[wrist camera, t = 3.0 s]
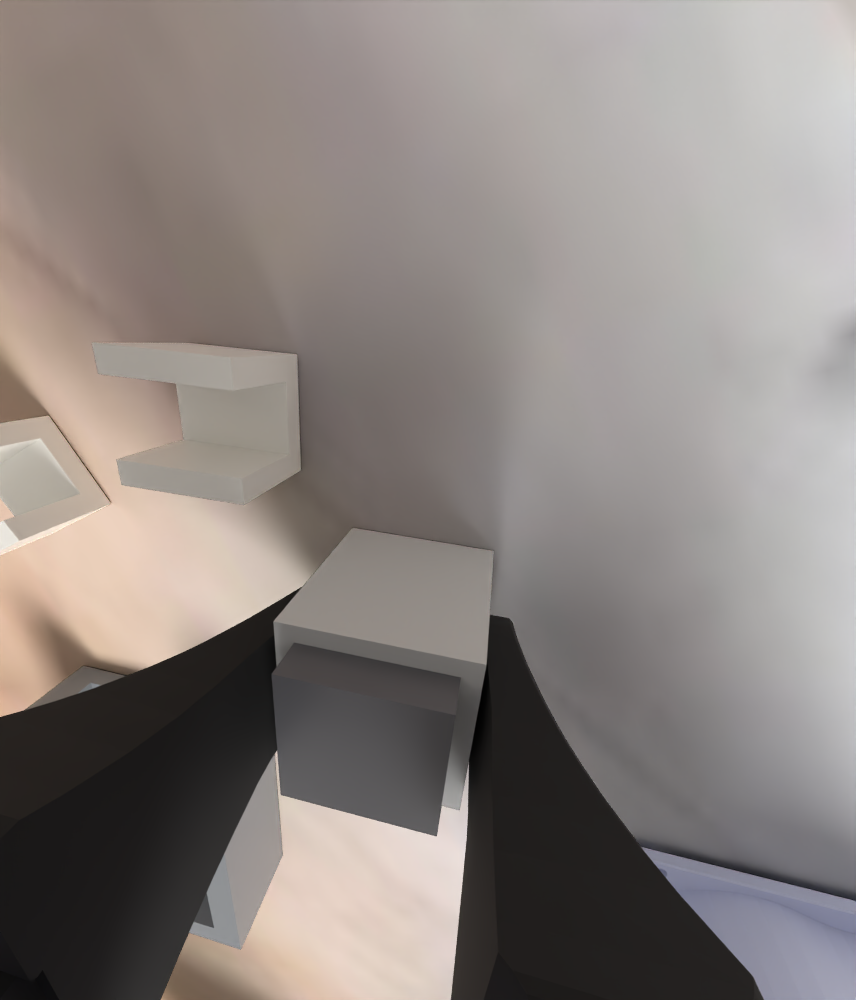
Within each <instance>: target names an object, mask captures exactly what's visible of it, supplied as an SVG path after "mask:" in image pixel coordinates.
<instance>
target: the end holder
mask: <svg viewBox="0 0 856 1000" xmlns="http://www.w3.org/2000/svg"><path fill="white" fill-rule="evenodd" d="M122 677H125V676H124V675H120V674H116V673H112V672H107V671H103V670H99V669H95V668H90V667H86V666H82V667H81V668H80V669H78V670H77V671H76V672H74V673H73V674H72V675H70V676H69V677H68V678H66V679H65V680H64V681H62V682H61V683H60V684H58V685H57V686H56V687H54V688H53V689H52V690H51V691H49V692H48V693H47V694H45V695H44V696H43V697H41V698H40V699H39V700H37V701H36V702H35V703H33V704H32V705H31V706H29V707H28V708H27V709H30V708H34V707H37V706H40V705H44V704H47V703H50V702H53V701H57V700H60V699H63V698H66V697H69V696H72V695H75V694H78V693H81V692H84V691H87V690H90V689H93V688H95V687H98V686H101V685H103V684H106V683H109V682H111V681H114V680H117V679H119V678H122ZM27 709H25V710H27ZM282 855H283V853H282V841H281V828H280V816H279V804H278V792H277V779H276V767H275V755H274V756H273V757H272V759H271V761H270V762H269V764H268V766H267V768H266V770H265V771H264V773H263V775H262V777H261V779H260V781H259V782H258V784H257V786H256V788H255V790H254V793H253V795H252V797H251V799H250V801H249V803H248V805H247V807H246V809H245V811H244V813H243V815H242V817H241V819H240V821H239V823H238V826H237V828H236V830H235V832H234V834H233V836H232V838H231V840H230V843H229V845H228V847H227V849H226V851H225V853H224V856H223V858H222V860H221V862H220V864H219V866H218V869H217V871H216V873H215V875H214V877H213V879H212V881H211V884H210V886H209V888H208V891H207V893H206V895H205V897H204V900H203V902H202V904H201V906H200V909H199V911H198V913H197V915H196V918H195V920H194V922H193V925H192V927H191V929H190V931H189V933H191V934H194V935H197V936H201V937H204V938H207V939H210V940H213V941H216V942H219V943H222V944H225V945H228V946H231V947H234V948H237V949H240V950H241V949H242V946H243V944H244V942H245V939H246V937H247V935H248V933H249V930H250V928H251V926H252V924H253V921H254V919H255V917H256V914H257V912H258V910H259V908H260V905H261V903H262V901H263V899H264V896H265V894H266V892H267V889H268V887H269V885H270V883H271V880H272V878H273V876H274V874H275V871H276V869H277V867H278V864H279V862H280V860H281V858H282Z"/></svg>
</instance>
